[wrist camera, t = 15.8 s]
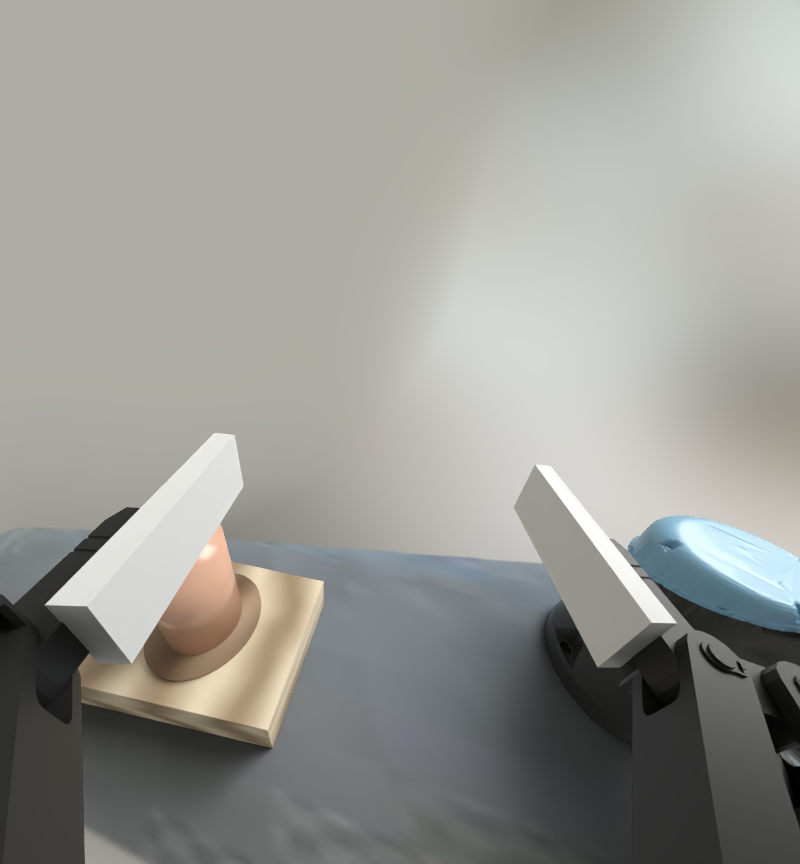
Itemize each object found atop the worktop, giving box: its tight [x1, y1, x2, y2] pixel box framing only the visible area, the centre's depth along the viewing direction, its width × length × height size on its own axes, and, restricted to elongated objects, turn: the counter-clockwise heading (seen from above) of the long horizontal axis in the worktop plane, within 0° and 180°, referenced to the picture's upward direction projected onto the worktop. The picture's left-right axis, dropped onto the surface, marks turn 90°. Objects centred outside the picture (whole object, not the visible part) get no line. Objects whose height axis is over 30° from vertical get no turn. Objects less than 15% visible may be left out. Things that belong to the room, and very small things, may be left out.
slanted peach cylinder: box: [157, 524, 242, 656], centre depth 26 cm, size 6×6×12 cm
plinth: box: [78, 562, 324, 748], centre depth 31 cm, size 20×13×6 cm, turn 83°
